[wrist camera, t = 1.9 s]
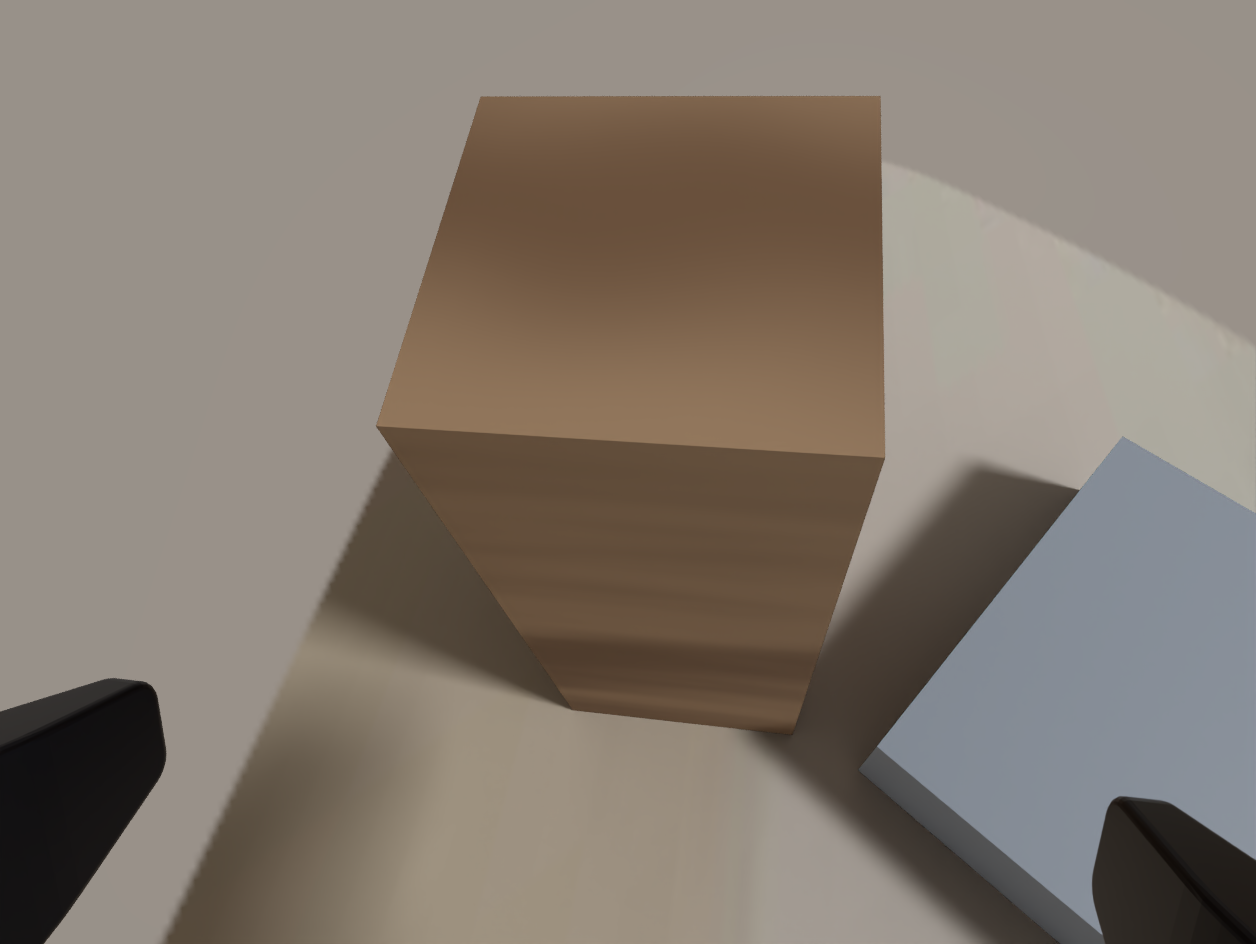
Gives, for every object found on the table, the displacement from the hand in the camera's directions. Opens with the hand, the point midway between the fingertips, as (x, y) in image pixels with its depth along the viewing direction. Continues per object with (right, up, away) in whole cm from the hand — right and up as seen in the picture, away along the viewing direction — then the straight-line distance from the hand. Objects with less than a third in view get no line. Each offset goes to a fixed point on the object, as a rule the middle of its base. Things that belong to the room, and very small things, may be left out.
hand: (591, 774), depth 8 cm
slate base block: (+12, -3, +10) cm, 16 cm away
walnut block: (+2, -1, +12) cm, 13 cm away
